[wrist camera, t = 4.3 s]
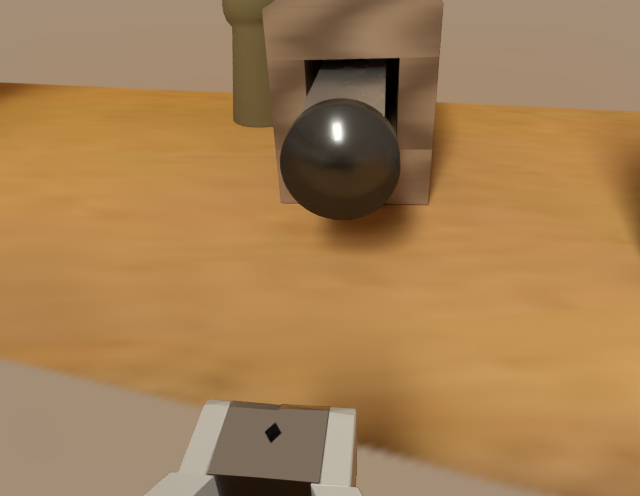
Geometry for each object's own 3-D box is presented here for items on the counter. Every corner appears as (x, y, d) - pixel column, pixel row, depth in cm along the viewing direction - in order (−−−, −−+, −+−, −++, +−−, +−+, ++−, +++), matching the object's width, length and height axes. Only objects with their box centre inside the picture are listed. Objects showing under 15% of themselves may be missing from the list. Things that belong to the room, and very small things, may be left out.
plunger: (285, 218, 23) (274, 108, 20) (318, 123, 33) (314, 42, 30) (398, 220, 22) (403, 106, 19) (395, 123, 33) (398, 40, 30)
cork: (289, 102, 49) (279, -25, 44) (307, 121, 45) (298, -20, 39) (227, 111, 48) (208, -20, 42) (239, 131, 43) (220, -14, 37)
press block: (281, 202, 32) (261, 9, 26) (309, 130, 42) (300, -17, 36) (428, 204, 30) (443, 3, 25) (418, 130, 41) (427, -23, 35)
